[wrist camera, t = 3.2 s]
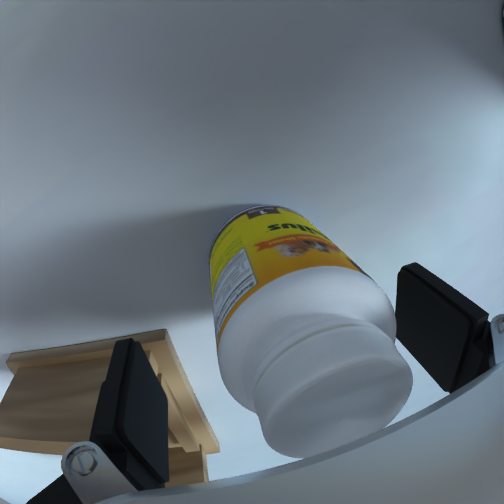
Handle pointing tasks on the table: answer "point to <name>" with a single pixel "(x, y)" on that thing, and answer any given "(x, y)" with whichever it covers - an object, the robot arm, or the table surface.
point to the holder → (85, 400)
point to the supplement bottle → (303, 334)
